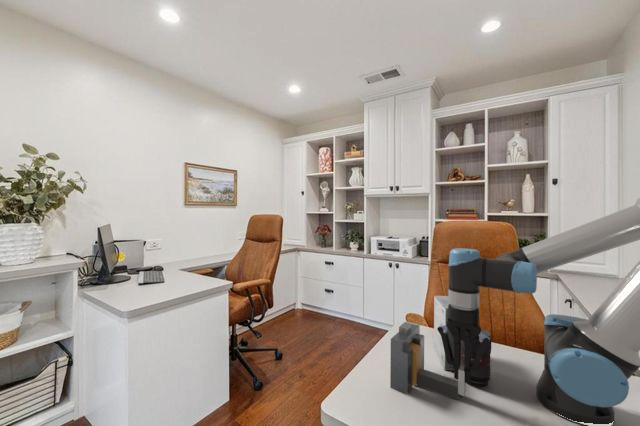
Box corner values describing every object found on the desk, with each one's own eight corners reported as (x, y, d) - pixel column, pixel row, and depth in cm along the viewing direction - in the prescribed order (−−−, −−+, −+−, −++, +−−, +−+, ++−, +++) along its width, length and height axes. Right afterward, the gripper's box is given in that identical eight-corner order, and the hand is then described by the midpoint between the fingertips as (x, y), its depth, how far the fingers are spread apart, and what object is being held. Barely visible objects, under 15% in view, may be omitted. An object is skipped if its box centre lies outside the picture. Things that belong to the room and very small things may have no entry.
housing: (424, 370, 90) (424, 320, 90) (407, 394, 78) (407, 336, 78) (408, 365, 93) (408, 316, 93) (390, 387, 81) (390, 332, 81)
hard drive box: (470, 373, 89) (470, 309, 89) (444, 370, 90) (445, 308, 90) (454, 349, 104) (455, 295, 104) (432, 347, 105) (433, 294, 105)
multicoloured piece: (460, 392, 79) (461, 356, 79) (457, 401, 75) (457, 364, 75) (405, 372, 88) (405, 340, 89) (399, 380, 85) (399, 346, 85)
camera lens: (495, 391, 79) (496, 338, 79) (464, 387, 81) (465, 335, 81) (485, 375, 87) (485, 327, 87) (457, 372, 89) (457, 324, 89)
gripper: (492, 307, 75) (491, 394, 76) (441, 297, 83) (440, 377, 83) (489, 315, 69) (487, 410, 70) (434, 304, 77) (433, 389, 77)
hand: (461, 392), depth 76 cm, fingers closed
